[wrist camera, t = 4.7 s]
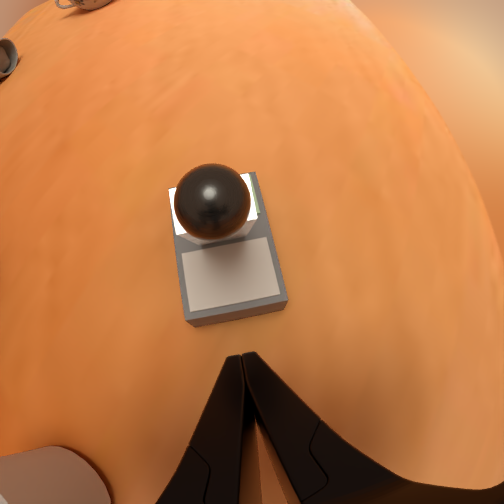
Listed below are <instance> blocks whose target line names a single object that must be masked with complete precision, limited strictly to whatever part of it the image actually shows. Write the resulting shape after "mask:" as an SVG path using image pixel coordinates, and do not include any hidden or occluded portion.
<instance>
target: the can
mask: <svg viewBox="0 0 504 504" xmlns="http://www.w3.org/2000/svg"><path fill="white" fill-rule="evenodd" d="M0 504H111V500H110V497H109V494H108V492H107V489H106V486H105V484H104V483H103V481H102V480H101V478H100V477H99V475H98V474H97V472H96V471H95V470H94V469H93V468H92V467H91V466H90V465H89V464H88V463H87V462H86V461H85V460H84V459H82V458H81V457H79V456H78V455H77V454H75V453H74V452H72V451H70V450H67V449H65V448H62V447H60V446H46V447H42V448H38V449H34V450H30V451H26V452H21V453H17V454H12V455H7V456H2V457H0Z"/></svg>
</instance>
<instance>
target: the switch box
mask: <svg viewBox="0 0 504 504" xmlns="http://www.w3.org/2000/svg"><path fill="white" fill-rule="evenodd" d="M244 174H249V179H250V184H251V189H252V194H253V199H254V204H255V209H256V214H257V220H256V222H255V223H254V225H253V226H252V228H251V230H250V231H249V233H248V234H247V236H246V237H241V238H236V239H231V240H225V241H220V242H215V243H210V244H205V245H197V244H195V243H193V242H191V241H189V240H187V239H185V238H183V237H181V236H179V235H176V229H175V224H174V218H173V212H172V206H171V199H170V206H171V217H172V226H173V235H174V244H175V252H176V260H177V268H178V275H179V282H180V289H181V296H182V303H183V309H184V316H185V321H187V322H188V323H190V324H191V325H192V326H194V327H199V326H205V325H210V324H216V323H221V322H226V321H231V320H236V319H241V318H246V317H251V316H256V315H261V314H266V313H270V312H275V311H279V310H284V308H285V306H286V304H287V302H288V297H287V292H286V288H285V284H284V280H283V276H282V272H281V268H280V264H279V260H278V256H277V253H276V249H275V245H274V241H273V237H272V233H271V229H270V225H269V221H268V218H267V214H266V210H265V206H264V202H263V199H262V195H261V191H260V187H259V184H258V180H257V176H256V172H250V173H244ZM244 174H240V175H244ZM173 188H176V187H173ZM173 188H169V189H173ZM169 196H170V193H169Z"/></svg>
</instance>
